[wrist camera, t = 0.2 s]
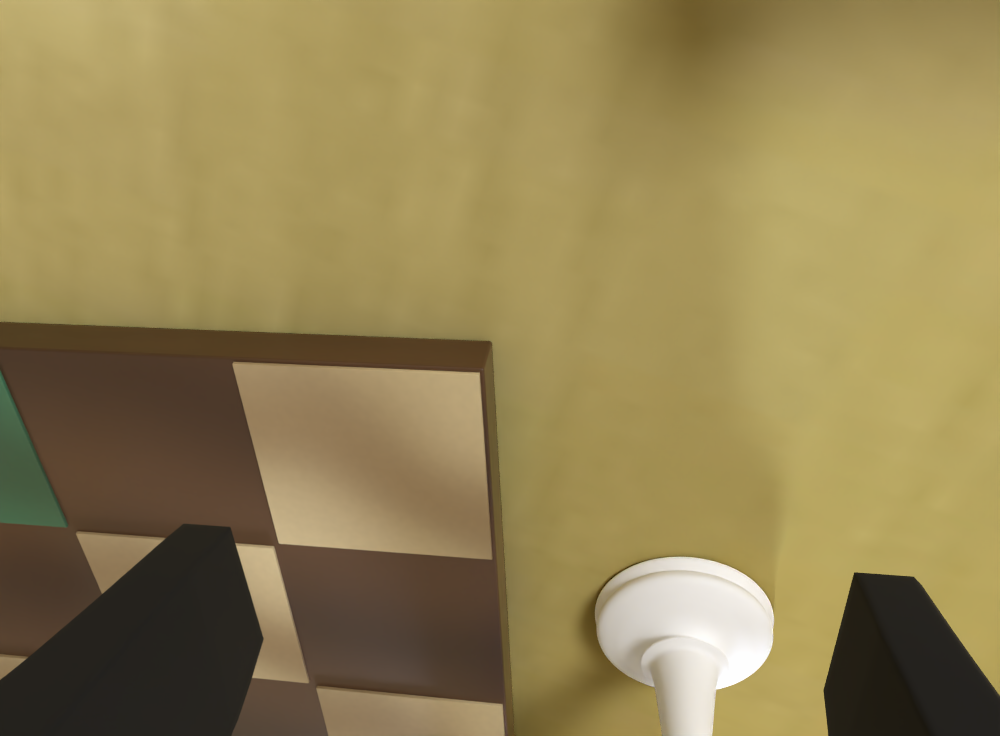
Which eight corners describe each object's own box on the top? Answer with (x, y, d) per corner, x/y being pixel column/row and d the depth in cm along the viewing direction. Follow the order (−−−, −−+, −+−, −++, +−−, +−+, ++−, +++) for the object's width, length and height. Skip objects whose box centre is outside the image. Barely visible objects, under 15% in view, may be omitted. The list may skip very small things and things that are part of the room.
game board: (517, 778, 30) (512, 814, 29) (45, 725, 33) (25, 757, 32) (492, 340, 20) (483, 371, 19) (-185, 313, 23) (-226, 340, 22)
